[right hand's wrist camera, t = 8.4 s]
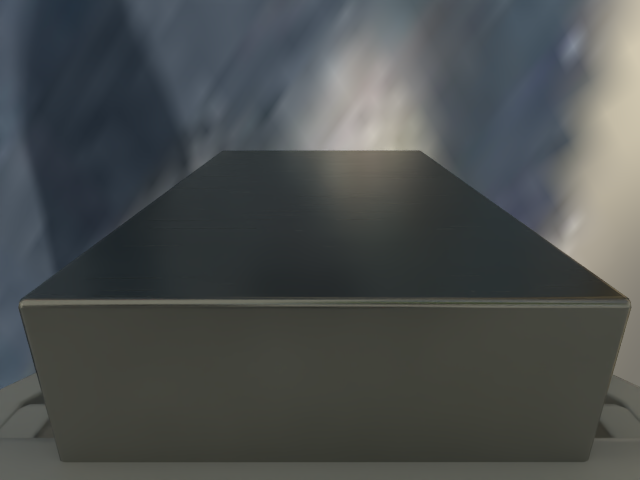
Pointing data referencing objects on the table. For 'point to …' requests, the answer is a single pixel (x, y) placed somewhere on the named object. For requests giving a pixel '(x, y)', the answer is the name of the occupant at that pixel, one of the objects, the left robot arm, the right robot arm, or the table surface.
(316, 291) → the box
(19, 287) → the table surface
